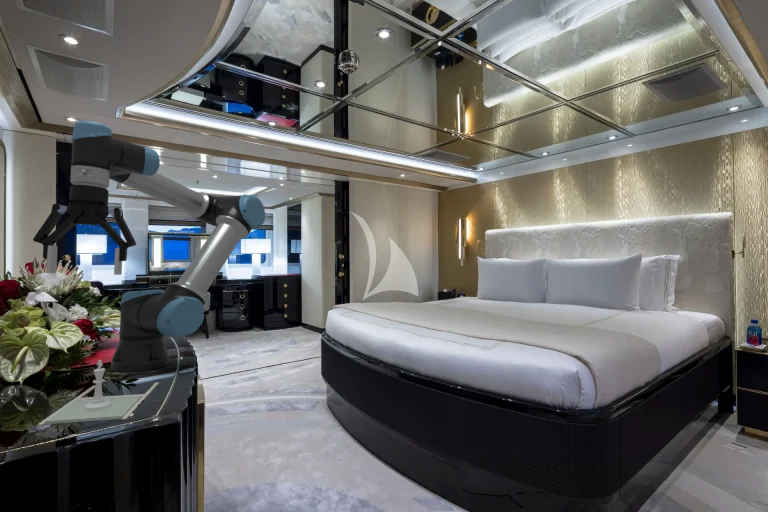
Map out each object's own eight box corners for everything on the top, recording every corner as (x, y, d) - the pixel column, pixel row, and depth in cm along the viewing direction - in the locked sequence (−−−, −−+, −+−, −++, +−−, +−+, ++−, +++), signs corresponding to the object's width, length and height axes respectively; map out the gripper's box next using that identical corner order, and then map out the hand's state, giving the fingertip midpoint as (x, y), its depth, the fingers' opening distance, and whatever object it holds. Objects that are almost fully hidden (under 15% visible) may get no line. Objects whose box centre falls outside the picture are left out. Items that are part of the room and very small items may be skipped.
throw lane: (93, 386, 98) (93, 384, 98) (159, 383, 103) (159, 381, 103) (37, 425, 74) (38, 422, 74) (126, 419, 79) (126, 416, 79)
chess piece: (89, 413, 80) (91, 364, 80) (78, 408, 82) (81, 360, 82) (115, 406, 84) (118, 360, 84) (105, 401, 86) (107, 356, 87)
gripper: (17, 178, 87) (11, 273, 86) (143, 188, 94) (139, 275, 94) (36, 185, 94) (31, 272, 94) (152, 193, 102) (148, 274, 101)
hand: (85, 274), depth 94 cm, fingers open, 13 cm apart
